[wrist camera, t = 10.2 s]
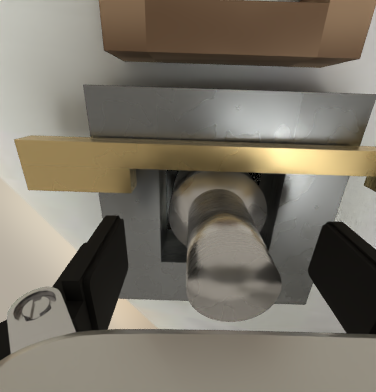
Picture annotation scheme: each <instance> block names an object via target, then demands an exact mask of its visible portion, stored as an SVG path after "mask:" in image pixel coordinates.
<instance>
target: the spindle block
mask: <svg viewBox="0 0 376 392" xmlns="http://www.w3.org/2000/svg"><path fill="white" fill-rule="evenodd" d="M83 87H84V94H85V101H86V108H87V115H88V121H89V128H90V135H91V137H93V138H124V139H155V140H185V141H216V142H247V143H277V144H308V145H338V146H360V144H361V141H362V138H363V135H364V132H365V129H366V126H367V123H368V120H369V117H370V114H371V111H372V109H373V106H374V103H375V100H376V94H350V93H319V92H288V91H257V90H227V89H196V88H165V87H135V86H104V85H83ZM348 179H349V176H342V175H312V174H281V173H261V177H260V183H259V188H260V189H261V191H262V193H263V195H264V197H265V200H266V205H267V215H266V220H265V224H264V226H263V228H262V230H261V232H260V235H261V237H262V239H263V241H264V243H265V245H266V247H267V249H268V251H269V253H270V255H271V257H272V259H273V261H274V263H275V266H276V268H277V270H278V272H279V274H280V277H281V282H282V286H281V291H280V294H279V296H278V298H277V300H276V301H275V303H274V304H302V305H305V304H306V301H307V298H308V295H309V293H310V290H311V287H312V284H313V281H312V280H311V278H310V277H309V274H308V267H309V264H310V261H311V258H312V255H313V252H314V249H315V246H316V243H317V240H318V237H319V234H320V231H321V228H322V226H323V225H324V224H326V223H327V222H329V221H331V222H334V219H335V217H336V214H337V211H338V208H339V205H340V202H341V199H342V196H343V193H344V190H345V187H346V184H347V182H348ZM136 180H137V185H136V187H135V189H134V190H133V192H132V193H104V192H99V197H100V204H101V211H102V218H103V219H104V217H105V216H106V215H116V216H119V217H120V219H123V220H124V227H125V236H126V246H127V255H128V272H127V275H126V277H125V280H124V283H123V286H122V289H121V292H120V295H119V298H120V299H150V300H180V301H189V300H188V297H187V294H186V270H187V247H186V246H185V245H184V244H182V243H181V242H180V241H179V240H178V239H177V237H176V236H175V234H174V233H173V231H172V230H169V229H167V180H166V170H159V169H136Z"/></svg>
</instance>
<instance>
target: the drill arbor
mask: <svg viewBox="0 0 376 392" xmlns="http://www.w3.org/2000/svg"><path fill="white" fill-rule="evenodd" d="M266 215H267V205H266V200H265V197H264V195H263V193H262V191H261V189H260V188H259V187H258V185H257V184H256V183H255V181H254V180H253V179H252V177H251V176H250V174H249V173H248V172H220V171H189V170H180V171H179V172H178V174H177V176H176V179H175V181H174V186H173V191H172V196H171V201H170V206H169V222H170V226H171V229H172V231H173V233H174V234H175V236H176V237H177V239H178V240H179V241H180V242H181V243H182V244H184V245H185V246H186V247H187V270H186V294H187V297H188V300H189V302H190V303H191V305H192V306H193V307H194V308H195V309H196V310H197V311H198V312H199V313H201V314H202V315H204V316H206V317H208V318H211V319H214V320H218V321H226V322H236V321H243V320H247V319H251V318H253V317H256V316H258V315H260V314H262V313H263V312H265V311H266V310H268V309H269V308H270V307H271V306H272V305H273V304H274V303H275V301H276V300H277V298H278V296H279V294H280V291H281V286H282V282H281V277H280V274H279V272H278V270H277V268H276V266H275V263H274V261H273V259H272V257H271V255H270V253H269V251H268V249H267V247H266V245H265V243H264V241H263V239H262V237H261V235H260V232H261V230H262V228H263V226H264V224H265V220H266Z"/></svg>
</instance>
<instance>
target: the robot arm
mask: <svg viewBox="0 0 376 392" xmlns="http://www.w3.org/2000/svg"><path fill="white" fill-rule="evenodd" d="M127 272H128V255H127V246H126V236H125V227H124V220H123V219H120V217H119V216H116V215H106V216H105V217H104V219H103V220H102V222H101V223H100V224H99V226H98V227H97V229H96V230H95V232H94V233H93V235H92V236H91V238H90V239H89V240H88V242H87V243H84V244H83V245H82V246H81V247H80V249H79V250H78V251H77V253H76V254H75V256H74V257H73V258H72V260H71V261H70V263H69V264H68V265H67V267H66V268H65V270H64V271H63V273H62V274H61V275H60V277H59V278H58V280H57V281H56V283H55V284H54V285H53V287H42V288H38V289H35V290H32V291H30V292H28V293H26V294H24V295H23V296H21V297H20V298H19V299H17V300H16V301H15V302H14V303H13V305H12V306H11V307H10V309H9V311H8V314H7V320H5V321H3V322H1V323H0V392H376V249H374V248H373V247H372V246H371V245H370V244H368V243H367V242H366V241H365V240H364V239H362V238H361V237H360V236H359V235H358V234H356V233H355V232H354V231H353V230H352V229H350V228H349V227H348V226H347V225H346V224H344V223H343V222H331V221H329V222H327V223H326V224H324V225H323V226H322V228H321V231H320V234H319V237H318V240H317V243H316V246H315V249H314V252H313V255H312V258H311V261H310V264H309V267H308V274H309V277H310V278H311V280H312V281H313V283H314V284H315V286H316V287H317V289H318V290H319V292H320V293H321V295H322V296H323V298H324V299H325V301H326V302H327V304H328V305H329V307H330V308H331V310H332V312H333V313H334V315H335V316H336V318H337V319H338V321H339V322H340V324H341V325H342V327H343V328H344V330H345V331H346V333H314V332H273V331H229V330H173V329H113V330H112V329H111V330H107V329H108V326H109V324H110V321H111V318H112V315H113V312H114V309H115V306H116V303H117V301H118V298H119V295H120V292H121V289H122V286H123V283H124V280H125V277H126V275H127Z"/></svg>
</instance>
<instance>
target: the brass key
mask: <svg viewBox="0 0 376 392" xmlns="http://www.w3.org/2000/svg"><path fill="white" fill-rule="evenodd" d="M14 141H15V145H16V148H17V152H18V155H19V159H20V162H21V166H22V169H23V173H24V176H25V180H26V183H27V187H28V190H43V191H74V192H104V193H132V192H133V190H134V189H135V187H136V185H137V180H136V169H159V170H189V171H220V172H250V173H281V174H312V175H342V176H367V177H366V180H365V183H364V186H366V187H368V188H370V189H371V190H373V191H375V192H376V147H369V146H338V145H308V144H277V143H247V142H216V141H185V140H155V139H124V138H93V137H63V136H32V135H31V136H27V137H23V138H19V139H15V140H14Z"/></svg>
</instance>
